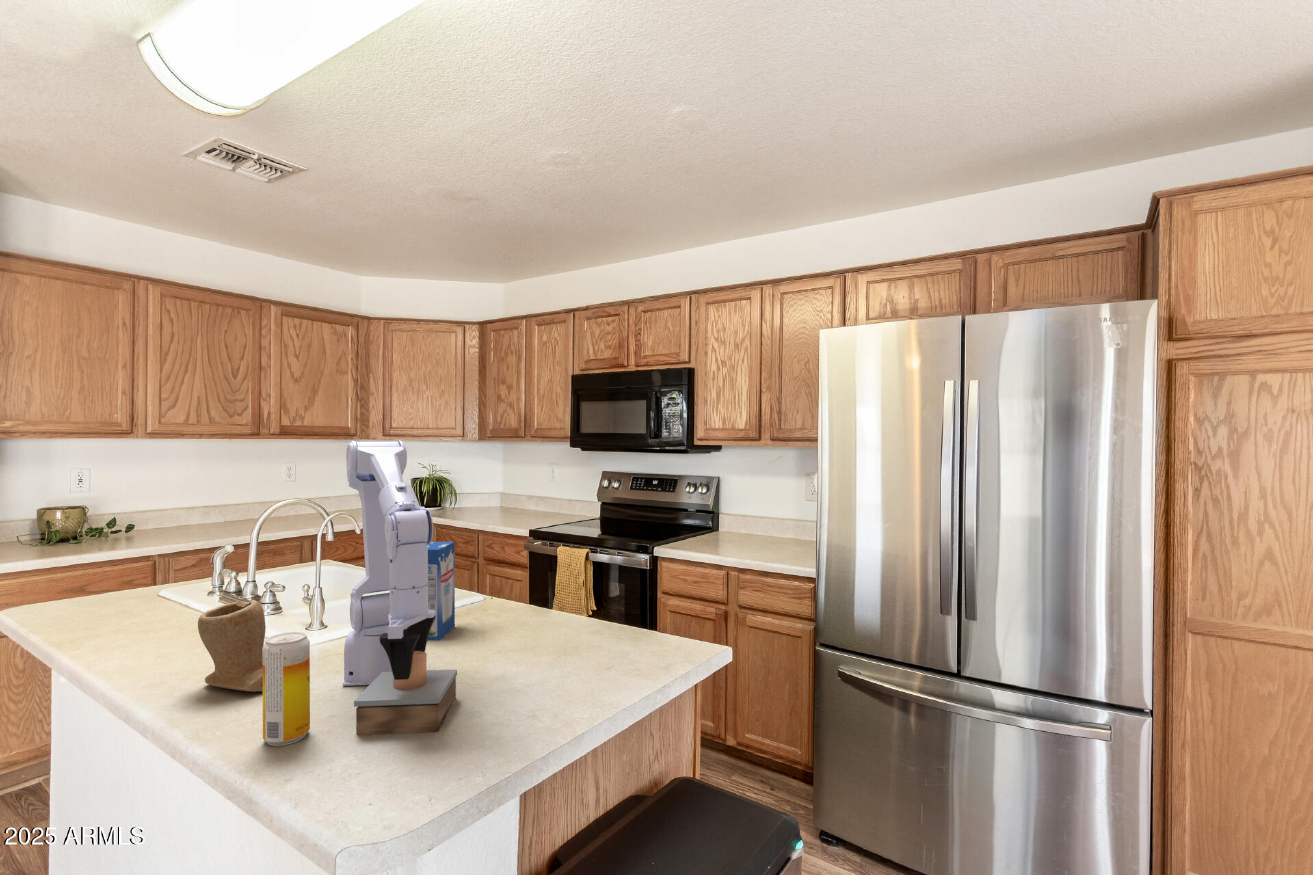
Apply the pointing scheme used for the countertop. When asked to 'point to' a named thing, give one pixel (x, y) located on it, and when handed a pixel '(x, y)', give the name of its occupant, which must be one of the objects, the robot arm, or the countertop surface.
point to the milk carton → (441, 587)
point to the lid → (386, 694)
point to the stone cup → (235, 644)
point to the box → (404, 716)
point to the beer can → (286, 688)
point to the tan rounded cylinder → (414, 673)
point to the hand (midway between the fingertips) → (409, 669)
